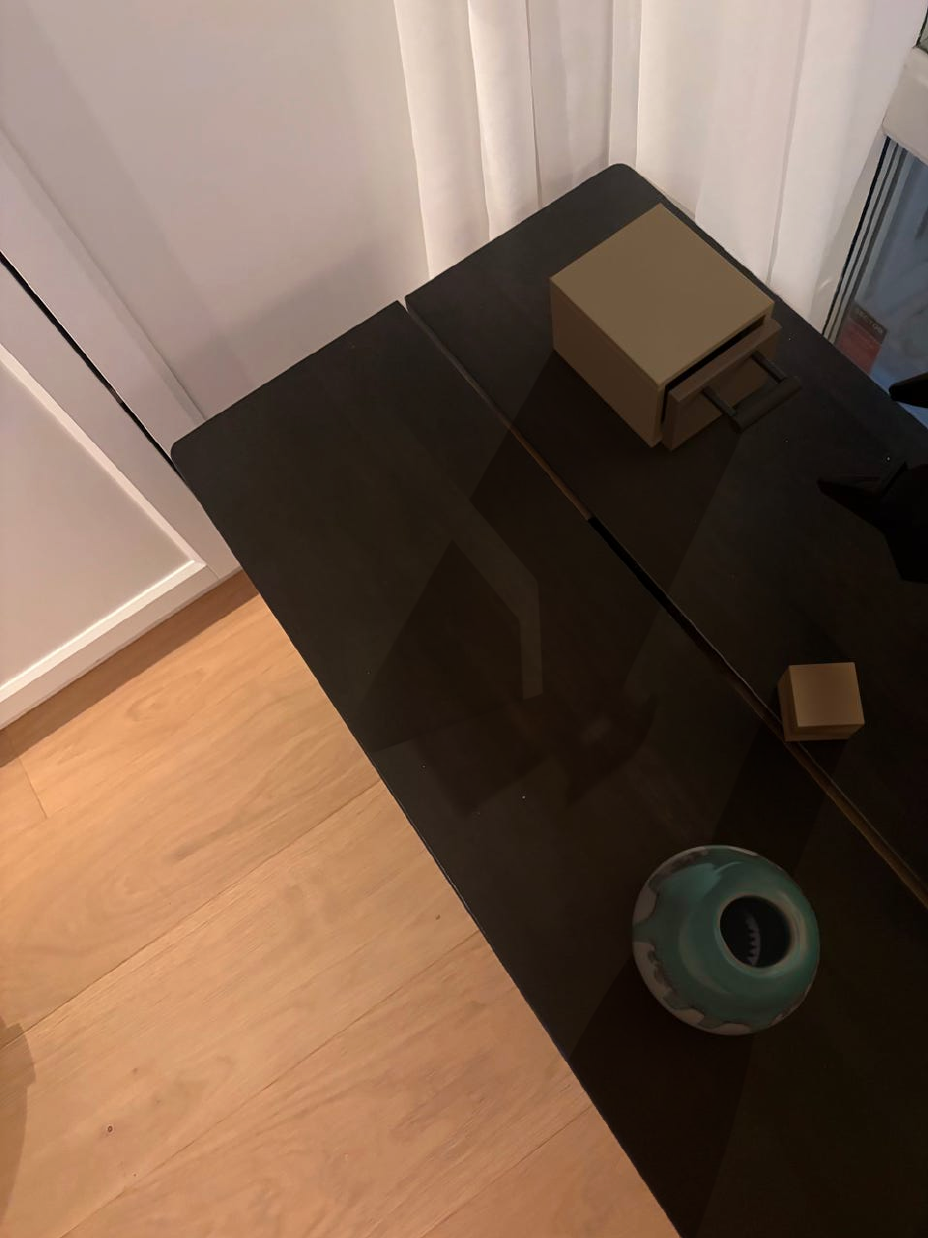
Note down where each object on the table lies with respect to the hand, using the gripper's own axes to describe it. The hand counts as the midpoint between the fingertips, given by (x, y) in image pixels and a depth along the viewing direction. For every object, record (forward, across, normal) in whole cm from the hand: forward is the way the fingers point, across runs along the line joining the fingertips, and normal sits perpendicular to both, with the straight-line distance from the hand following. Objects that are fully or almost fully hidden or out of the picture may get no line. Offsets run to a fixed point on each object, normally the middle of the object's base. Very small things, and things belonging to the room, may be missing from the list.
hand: (855, 437), depth 60 cm
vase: (+1, +29, +20) cm, 36 cm away
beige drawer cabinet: (+24, -8, -1) cm, 25 cm away
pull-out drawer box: (+20, -6, +1) cm, 21 cm away
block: (+3, +11, +17) cm, 20 cm away
